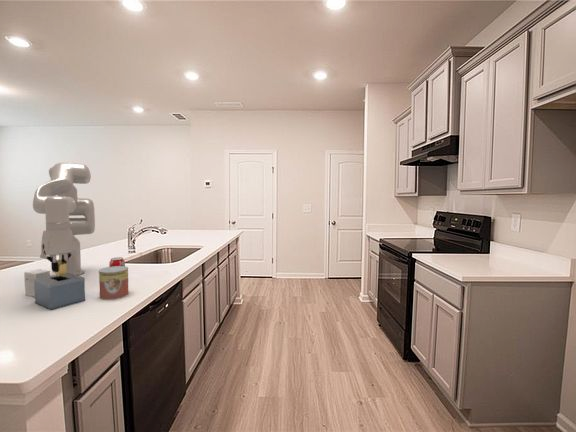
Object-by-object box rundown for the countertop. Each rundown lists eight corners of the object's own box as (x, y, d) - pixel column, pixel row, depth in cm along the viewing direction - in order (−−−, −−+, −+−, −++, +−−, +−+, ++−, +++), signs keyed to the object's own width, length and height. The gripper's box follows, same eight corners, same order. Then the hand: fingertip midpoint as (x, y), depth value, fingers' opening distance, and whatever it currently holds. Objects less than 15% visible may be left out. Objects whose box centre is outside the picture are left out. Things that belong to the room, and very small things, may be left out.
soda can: (118, 283, 145) (117, 260, 144) (106, 282, 146) (105, 259, 146) (128, 279, 152) (128, 257, 151) (117, 278, 153) (116, 256, 153)
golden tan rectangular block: (58, 276, 116) (52, 271, 119) (65, 275, 118) (58, 270, 121) (59, 264, 116) (52, 260, 118) (66, 263, 118) (59, 259, 120)
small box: (51, 293, 129) (50, 270, 128) (36, 297, 123) (35, 274, 123) (39, 291, 131) (38, 269, 131) (25, 295, 126) (24, 272, 125)
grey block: (35, 302, 118) (34, 279, 117) (68, 294, 128) (67, 272, 127) (51, 310, 111) (50, 285, 110) (85, 300, 121) (84, 277, 121)
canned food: (97, 301, 121) (97, 273, 120) (101, 293, 131) (100, 267, 130) (128, 297, 126) (127, 270, 125) (129, 289, 136) (128, 265, 135)
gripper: (75, 224, 126) (76, 265, 127) (29, 227, 112) (31, 273, 113) (84, 225, 122) (85, 268, 124) (37, 229, 109) (39, 276, 110)
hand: (59, 270), depth 118 cm, fingers closed on golden tan rectangular block, 2 cm apart
